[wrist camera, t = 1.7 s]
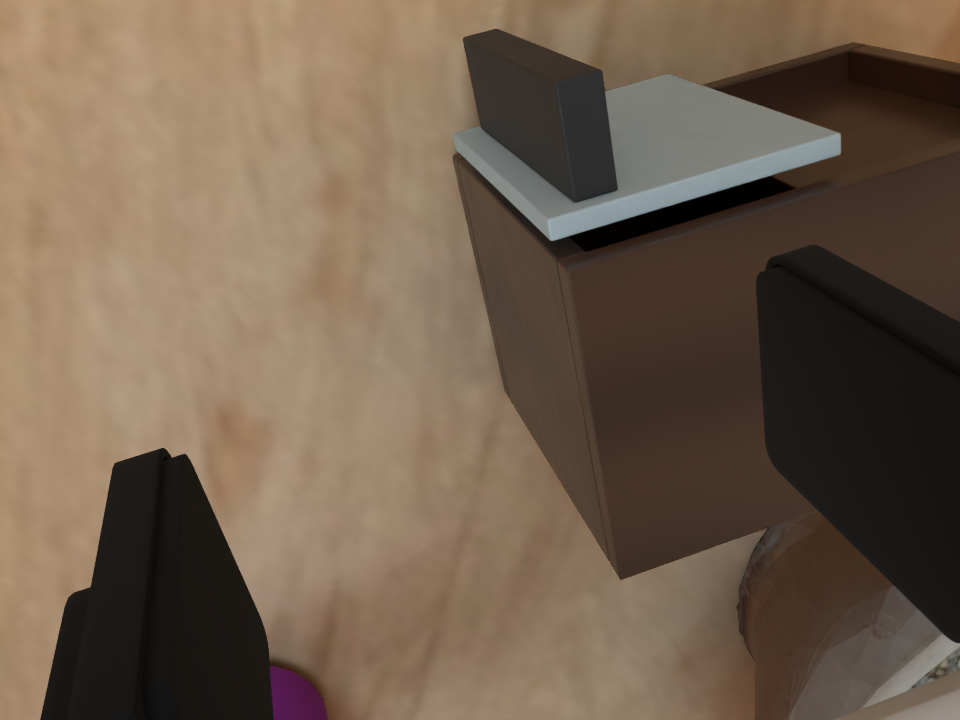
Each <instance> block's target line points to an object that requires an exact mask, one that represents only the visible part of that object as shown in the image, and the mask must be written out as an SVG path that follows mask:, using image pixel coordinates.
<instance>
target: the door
mask: <svg viewBox="0 0 960 720" xmlns="http://www.w3.org/2000/svg"><path fill="white" fill-rule="evenodd" d="M463 43H464V48H465V53H466V57H467V62H468V67H469V72H470V77H471V82H472V87H473V92H474V96H475V101H476V106H477V111H478V116H479V121H480V126H479V127H475V128H471V129H468V130H464V131H461V132H457V133H454V134H453V139H454V143H455V148H456V150H457V151H458V152H459V153H460V154H461V155H462V156H463V157H464V158H465V159H466V160H467V161H468V162H469V163H470V164H472V165H473V166H474V167H475V168H476V169H477V170H478V171H479V172H480V173H481V174H482V175H483V176H484V177H485V178H486V179H487V180H488V181H489V182H490V183H491V184H492V185H493V186H494V187H495V188H496V189H497V190H499V191H500V192H501V193H502V194H503V195H504V196H505V197H506V198H507V199H508V200H509V201H510V202H511V203H512V204H513V205H514V206H515V207H516V208H517V209H518V210H519V211H520V212H521V213H522V214H523V215H524V216H526V217H527V218H528V219H529V220H530V221H531V222H532V223H533V224H534V225H535V226H536V227H537V228H538V229H539V230H540V231H541V232H542V233H543V234H544V235H545V236H546V237H547V238H548V239H549V240H550V241H555V240H558V239H561V238H565V237H568V236H571V235H575V234H578V233H581V232H585V231H588V230H591V229H595V228H598V227H601V226H605V225H608V224H611V223H615V222H618V221H621V220H625V219H628V218H631V217H635V216H638V215H641V214H645V213H648V212H651V211H655V210H658V209H661V208H665V207H668V206H671V205H675V204H678V203H681V202H685V201H688V200H691V199H695V198H698V197H701V196H705V195H708V194H711V193H715V192H718V191H721V190H725V189H728V188H731V187H735V186H738V185H741V184H745V183H748V182H751V181H755V180H758V179H761V178H765V177H768V176H771V175H775V174H778V173H781V172H785V171H788V170H791V169H795V168H798V167H801V166H805V165H808V164H811V163H815V162H818V161H821V160H825V159H828V158H831V157H835V156H838V155H840V154H841V134H840V133H838V132H835V131H832V130H830V129H827V128H824V127H821V126H818V125H815V124H812V123H809V122H806V121H804V120H801V119H798V118H795V117H792V116H789V115H786V114H783V113H780V112H777V111H775V110H772V109H769V108H766V107H763V106H760V105H757V104H754V103H751V102H749V101H746V100H743V99H740V98H737V97H734V96H731V95H728V94H725V93H723V92H720V91H717V90H714V89H711V88H708V87H705V86H702V85H699V84H697V83H694V82H691V81H688V80H685V79H682V78H679V77H676V76H673V75H671V74H665V75H662V76H658V77H655V78H651V79H647V80H644V81H640V82H637V83H633V84H629V85H626V86H622V87H619V88H615V89H611V90H608V91H605V88H604V81H603V74H602V71H601V70H600V69H597V68H595V67H592V66H589V65H587V64H584V63H582V62H579V61H577V60H574V59H572V58H569V57H567V56H564V55H562V54H559V53H557V52H554V51H552V50H549V49H547V48H544V47H542V46H539V45H537V44H534V43H531V42H529V41H526V40H524V39H521V38H519V37H516V36H514V35H511V34H509V33H506V32H504V31H501V30H499V29H493V30H489V31H486V32H482V33H478V34H474V35H470V36H467V37H464V38H463Z"/></svg>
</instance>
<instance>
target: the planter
mask: <svg viewBox="0 0 960 720" xmlns="http://www.w3.org/2000/svg"><path fill="white" fill-rule="evenodd" d="M739 595H740V602H739V604H738V605H737V607H736V608H737V610H738V619H739V632H740V633H741V635H742V636H743V638H744V642H745V644H746V647H747V649H748V650H749V652H750V654H751V656H752V657H753V659H754V661H755V669H756V680H755V720H835V719H837V718H840V717H842V716H845V715H848V714H850V713H853V712H855V711H858V710H860V709H863V708H865V707H868V706H871V705H873V704H876V703H878V702H881V701H883V700H886V699H888V698H891V697H893V696H896V695H899V694H901V693H904V692H906V691H909V690H911V689H914V688H916V687H919V686H921V685H924V684H927V683H929V682H932V681H934V680H937V679H939V678H942V677H945V676H947V675H950V674H952V673H955V672H958V671H960V643H955V642H953V641H951V640H950V639H949V638H947V637H946V636H945V635H944V634H943V633H942V632H941V631H940V630H939V629H938V628H937V627H936V626H935V625H934V624H933V623H932V622H931V621H930V620H929V619H928V618H927V617H926V616H924V615H923V614H922V613H921V612H920V611H919V610H918V609H917V608H916V607H915V606H914V605H913V604H912V603H911V602H910V601H909V600H908V599H907V598H906V597H905V596H904V595H903V594H902V593H901V592H900V591H899V590H898V589H897V588H896V587H895V586H894V585H893V584H892V583H891V582H890V581H889V580H888V579H887V578H886V577H885V576H884V575H883V574H882V573H881V572H880V571H879V570H878V569H877V568H876V567H875V566H874V565H873V564H872V563H871V562H870V561H869V560H868V559H867V558H866V557H865V556H863V555H862V554H861V553H860V552H859V551H858V550H857V549H856V548H855V547H854V546H853V545H852V544H851V543H850V542H849V541H848V540H847V539H846V538H845V537H844V536H843V535H842V534H841V533H840V532H839V531H838V530H837V529H836V528H835V527H834V526H833V525H832V524H831V523H830V522H829V521H828V520H827V519H826V518H825V517H824V516H823V515H822V514H821V513H820V512H819V511H818V510H815V511H812V512H810V513H807V514H804V515H801V516H798V517H796V518H793V519H790V520H787V521H784V522H782V523H779V524H776V525H773V526H770V528H769V529H768V531H767V532H766V534H765V536H764V538H763V539H762V540H761V541H760V542H759V543H758V545H757V547H756V549H755V550H754V552H753V553H752V556H751V560H750V563H749V566H748V568H747V570H746V572H745V575H744V577H743V580H742V583H741V585H740V587H739Z"/></svg>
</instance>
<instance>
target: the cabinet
mask: <svg viewBox="0 0 960 720" xmlns="http://www.w3.org/2000/svg"><path fill="white" fill-rule="evenodd" d="M702 86H705V87H708V88H711V89H714V90H717V91H720V92H723V93H725V94H728V95H731V96H734V97H737V98H740V99H743V100H746V101H749V102H751V103H754V104H757V105H760V106H763V107H766V108H769V109H772V110H775V111H777V112H780V113H783V114H786V115H789V116H792V117H795V118H798V119H801V120H804V121H806V122H809V123H812V124H815V125H818V126H821V127H824V128H827V129H830V130H832V131H835V132H838V133H840V134H841V154H840V155H838V156H835V157H831V158H828V159H825V160H821V161H818V162H815V163H811V164H808V165H805V166H801V167H798V168H795V169H791V170H788V171H785V172H781V173H778V174H775V175H771V176H768V177H765V178H761V179H758V180H755V181H751V182H748V183H745V184H741V185H738V186H735V187H731V188H728V189H725V190H721V191H718V192H715V193H711V194H708V195H705V196H701V197H698V198H695V199H691V200H688V201H685V202H681V203H678V204H675V205H671V206H668V207H665V208H661V209H658V210H655V211H651V212H648V213H645V214H641V215H638V216H635V217H631V218H628V219H625V220H621V221H618V222H615V223H611V224H608V225H605V226H601V227H598V228H595V229H591V230H588V231H585V232H581V233H578V234H575V235H571V236H568V237H565V238H561V239H558V240H555V241H550V240H549V239H548V238H547V237H546V236H545V235H544V234H543V233H542V232H541V231H540V230H539V229H538V228H537V227H536V226H535V225H534V224H533V223H532V222H531V221H530V220H529V219H528V218H527V217H526V216H524V215H523V214H522V213H521V212H520V211H519V210H518V209H517V208H516V207H515V206H514V205H513V204H512V203H511V202H510V201H509V200H508V199H507V198H506V197H505V196H504V195H503V194H502V193H501V192H500V191H499V190H497V189H496V188H495V187H494V186H493V185H492V184H491V183H490V182H489V181H488V180H487V179H486V178H485V177H484V176H483V175H482V174H481V173H480V172H479V171H478V170H477V169H476V168H475V167H474V166H473V165H472V164H470V163H469V162H468V161H467V160H466V159H465V158H464V157H463V156H462V155H461V154H460V153H459V154H456V155H454V156H453V162H454V166H455V171H456V175H457V180H458V184H459V189H460V193H461V198H462V202H463V207H464V211H465V216H466V220H467V224H468V229H469V233H470V238H471V242H472V247H473V251H474V256H475V260H476V265H477V269H478V273H479V278H480V282H481V287H482V291H483V296H484V300H485V305H486V309H487V314H488V318H489V322H490V327H491V331H492V336H493V340H494V345H495V349H496V354H497V358H498V363H499V367H500V371H501V376H502V380H503V385H504V389H505V392H506V394H507V395H508V397H509V398H510V400H511V402H512V404H513V405H514V407H515V408H516V410H517V412H518V413H519V415H520V417H521V418H522V420H523V422H524V423H525V425H526V426H527V428H528V430H529V431H530V433H531V435H532V436H533V438H534V439H535V441H536V443H537V444H538V446H539V448H540V449H541V451H542V453H543V454H544V456H545V457H546V459H547V461H548V462H549V464H550V466H551V467H552V469H553V470H554V472H555V474H556V475H557V477H558V479H559V480H560V482H561V484H562V485H563V487H564V488H565V490H566V492H567V493H568V495H569V497H570V498H571V500H572V501H573V503H574V505H575V506H576V508H577V510H578V511H579V513H580V515H581V516H582V518H583V519H584V521H585V523H586V524H587V526H588V528H589V529H590V531H591V533H592V534H593V536H594V537H595V539H596V541H597V542H598V544H599V546H600V547H601V549H602V550H603V552H604V554H605V555H606V557H607V559H608V560H609V561H610V564H611V565H612V567H613V569H614V570H615V572H616V574H617V575H618V577H619V578H620V579H621V580H622V579H625V578H628V577H631V576H633V575H636V574H639V573H642V572H645V571H647V570H650V569H653V568H656V567H659V566H661V565H664V564H667V563H670V562H673V561H675V560H678V559H681V558H684V557H686V556H689V555H692V554H695V553H698V552H700V551H703V550H706V549H709V548H712V547H714V546H717V545H720V544H723V543H726V542H728V541H731V540H734V539H737V538H740V537H742V536H745V535H748V534H751V533H754V532H756V531H759V530H762V529H765V528H768V527H770V526H773V525H776V524H779V523H782V522H784V521H787V520H790V519H793V518H796V517H798V516H801V515H804V514H807V513H810V512H812V511H815V510H817V509H816V508H815V507H814V506H813V505H812V504H811V503H810V502H809V501H808V500H807V499H806V498H805V497H804V496H802V495H801V494H800V493H799V492H798V491H797V490H796V489H795V488H794V487H793V486H792V485H791V484H790V483H789V482H788V481H787V480H786V479H785V478H784V477H783V476H782V475H781V474H780V473H779V472H778V471H777V470H776V468H775V467H774V466H773V464H772V462H771V460H770V458H769V456H768V453H767V450H766V444H765V431H764V415H763V398H762V381H761V364H760V347H759V330H758V313H757V297H756V279H757V276H758V274H759V273H760V272H763V271H765V268H766V265H767V262H768V260H769V259H770V258H771V257H774V256H777V255H780V254H783V253H786V252H789V251H793V250H796V249H799V248H802V247H805V246H809V245H812V244H815V245H818V246H821V247H822V248H824V249H826V250H828V251H830V252H832V253H833V254H835V255H837V256H839V257H841V258H843V259H844V260H846V261H848V262H850V263H852V264H854V265H856V266H857V267H859V268H861V269H863V270H865V271H867V272H868V273H870V274H872V275H874V276H876V277H878V278H879V279H881V280H883V281H885V282H887V283H889V284H890V285H892V286H894V287H896V288H898V289H900V290H901V291H903V292H905V293H907V294H909V295H911V296H913V297H914V298H916V299H918V300H920V301H922V302H924V303H925V304H927V305H929V306H931V307H933V308H935V309H936V310H938V311H940V312H942V313H944V314H946V315H947V316H949V317H951V318H953V319H955V320H957V321H959V322H960V63H956V62H951V61H946V60H940V59H935V58H930V57H925V56H920V55H915V54H910V53H905V52H900V51H895V50H890V49H885V48H879V47H874V46H869V45H865V44H859V43H854V42H853V43H850V44H846V45H843V46H839V47H836V48H832V49H829V50H825V51H821V52H818V53H814V54H811V55H807V56H804V57H800V58H797V59H793V60H790V61H786V62H782V63H779V64H775V65H772V66H768V67H765V68H761V69H758V70H754V71H750V72H747V73H743V74H740V75H736V76H733V77H729V78H726V79H722V80H719V81H715V82H711V83H708V84H704V85H702Z"/></svg>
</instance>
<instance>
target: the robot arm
mask: <svg viewBox="0 0 960 720" xmlns="http://www.w3.org/2000/svg"><path fill="white" fill-rule="evenodd" d="M756 297H757V313H758V330H759V347H760V364H761V381H762V398H763V415H764V431H765V444H766V450H767V453H768V456H769V458H770V460H771V462H772V464H773V466H774V467H775V468H776V470H777V471H778V472H779V473H780V474H781V475H782V476H783V477H784V478H785V479H786V480H787V481H788V482H789V483H790V484H791V485H792V486H793V487H794V488H795V489H796V490H797V491H798V492H799V493H800V494H801V495H802V496H804V497H805V498H806V499H807V500H808V501H809V502H810V503H811V504H812V505H813V506H814V507H815V508H816V509H817V510H818V511H819V512H820V513H821V514H822V515H823V516H824V517H825V518H826V519H827V520H828V521H829V522H830V523H831V524H832V525H833V526H834V527H835V528H836V529H837V530H838V531H839V532H840V533H841V534H842V535H843V536H844V537H845V538H846V539H847V540H848V541H849V542H850V543H851V544H852V545H853V546H854V547H855V548H856V549H857V550H858V551H859V552H860V553H861V554H862V555H863V556H865V557H866V558H867V559H868V560H869V561H870V562H871V563H872V564H873V565H874V566H875V567H876V568H877V569H878V570H879V571H880V572H881V573H882V574H883V575H884V576H885V577H886V578H887V579H888V580H889V581H890V582H891V583H892V584H893V585H894V586H895V587H896V588H897V589H898V590H899V591H900V592H901V593H902V594H903V595H904V596H905V597H906V598H907V599H908V600H909V601H910V602H911V603H912V604H913V605H914V606H915V607H916V608H917V609H918V610H919V611H920V612H921V613H922V614H923V615H924V616H926V617H927V618H928V619H929V620H930V621H931V622H932V623H933V624H934V625H935V626H936V627H937V628H938V629H939V630H940V631H941V632H942V633H943V634H944V635H945V636H946V637H947V638H949V639H950V640H951V641H953V642H955V643H960V322H959V321H957V320H955V319H953V318H951V317H949V316H947V315H946V314H944V313H942V312H940V311H938V310H936V309H935V308H933V307H931V306H929V305H927V304H925V303H924V302H922V301H920V300H918V299H916V298H914V297H913V296H911V295H909V294H907V293H905V292H903V291H901V290H900V289H898V288H896V287H894V286H892V285H890V284H889V283H887V282H885V281H883V280H881V279H879V278H878V277H876V276H874V275H872V274H870V273H868V272H867V271H865V270H863V269H861V268H859V267H857V266H856V265H854V264H852V263H850V262H848V261H846V260H844V259H843V258H841V257H839V256H837V255H835V254H833V253H832V252H830V251H828V250H826V249H824V248H822V247H821V246H818V245H815V244H812V245H809V246H805V247H802V248H799V249H796V250H793V251H789V252H786V253H783V254H780V255H777V256H774V257H771V258H770V259H769V260H768V262H767V265H766V268H765V271H763V272H760V273H759V274H758V276H757V279H756ZM40 720H274V715H273V702H272V688H271V675H270V661H269V649H268V642H267V637H266V633H265V629H264V626H263V623H262V620H261V617H260V615H259V613H258V611H257V608H256V606H255V604H254V602H253V599H252V597H251V595H250V593H249V590H248V588H247V586H246V584H245V581H244V579H243V577H242V575H241V572H240V570H239V568H238V566H237V564H236V561H235V559H234V557H233V555H232V552H231V550H230V548H229V546H228V543H227V541H226V539H225V537H224V534H223V532H222V530H221V528H220V525H219V523H218V521H217V519H216V516H215V514H214V512H213V510H212V507H211V505H210V503H209V501H208V499H207V496H206V494H205V492H204V490H203V487H202V485H201V483H200V481H199V478H198V476H197V474H196V472H195V469H194V467H193V465H192V463H191V461H190V459H189V458H188V456H187V455H186V454H182V455H179V456H176V457H173V458H172V457H171V455H170V454H169V453H168V451H167V450H166V449H164V448H161V449H158V450H155V451H151V452H148V453H145V454H142V455H139V456H136V457H132V458H129V459H126V460H123V461H120V462H117V463H115V464H114V466H113V469H112V475H111V480H110V486H109V491H108V497H107V502H106V507H105V513H104V518H103V524H102V529H101V535H100V540H99V545H98V551H97V556H96V562H95V567H94V573H93V578H92V584H91V587H90V588H87V589H84V590H81V591H78V592H75V593H73V594H72V595H71V596H70V597H68V600H67V603H66V605H65V608H64V613H63V617H62V622H61V627H60V631H59V636H58V641H57V645H56V650H55V654H54V659H53V664H52V668H51V673H50V677H49V682H48V687H47V691H46V696H45V701H44V705H43V710H42V714H41V719H40ZM835 720H960V671H958V672H955V673H952V674H950V675H947V676H945V677H942V678H939V679H937V680H934V681H932V682H929V683H927V684H924V685H921V686H919V687H916V688H914V689H911V690H909V691H906V692H904V693H901V694H899V695H896V696H893V697H891V698H888V699H886V700H883V701H881V702H878V703H876V704H873V705H871V706H868V707H865V708H863V709H860V710H858V711H855V712H853V713H850V714H848V715H845V716H842V717H840V718H837V719H835Z"/></svg>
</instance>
